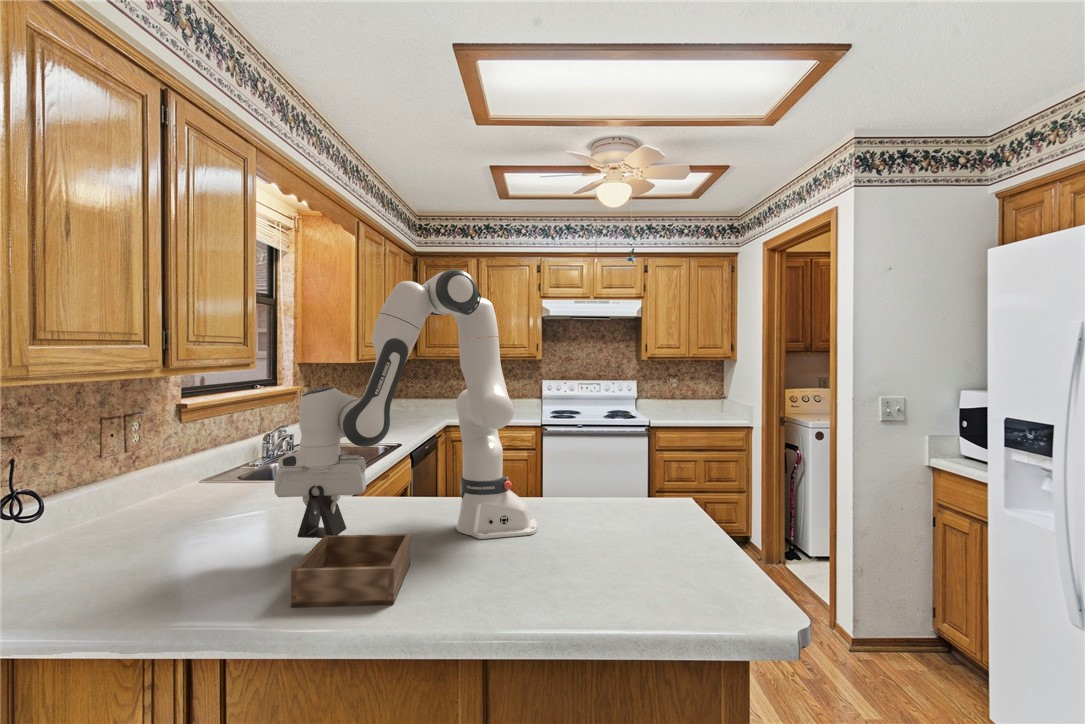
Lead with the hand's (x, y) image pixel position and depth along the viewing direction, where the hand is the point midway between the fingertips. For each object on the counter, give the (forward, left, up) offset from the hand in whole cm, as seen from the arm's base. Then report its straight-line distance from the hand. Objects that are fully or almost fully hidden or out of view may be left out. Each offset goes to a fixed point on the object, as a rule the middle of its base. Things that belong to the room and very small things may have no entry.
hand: (322, 513), depth 123 cm
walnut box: (-12, +16, -10) cm, 23 cm away
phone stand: (0, 0, -5) cm, 5 cm away
